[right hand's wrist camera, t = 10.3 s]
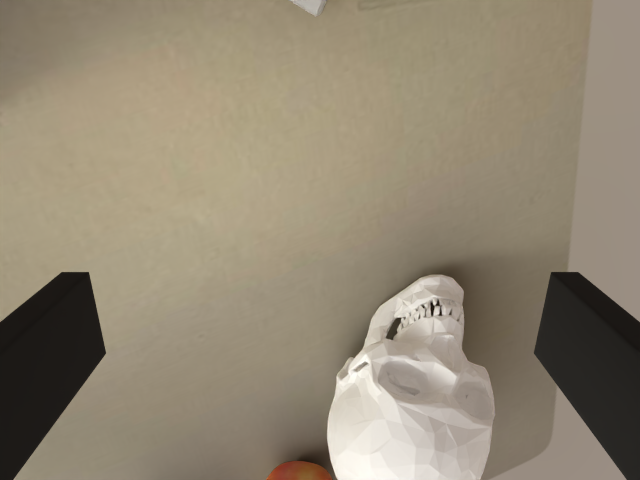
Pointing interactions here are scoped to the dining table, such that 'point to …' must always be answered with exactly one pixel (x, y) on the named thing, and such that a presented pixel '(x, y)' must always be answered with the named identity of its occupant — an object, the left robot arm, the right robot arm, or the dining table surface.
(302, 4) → the grey segmented long block
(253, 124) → the dining table surface
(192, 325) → the dining table surface
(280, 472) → the apple
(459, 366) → the skull
